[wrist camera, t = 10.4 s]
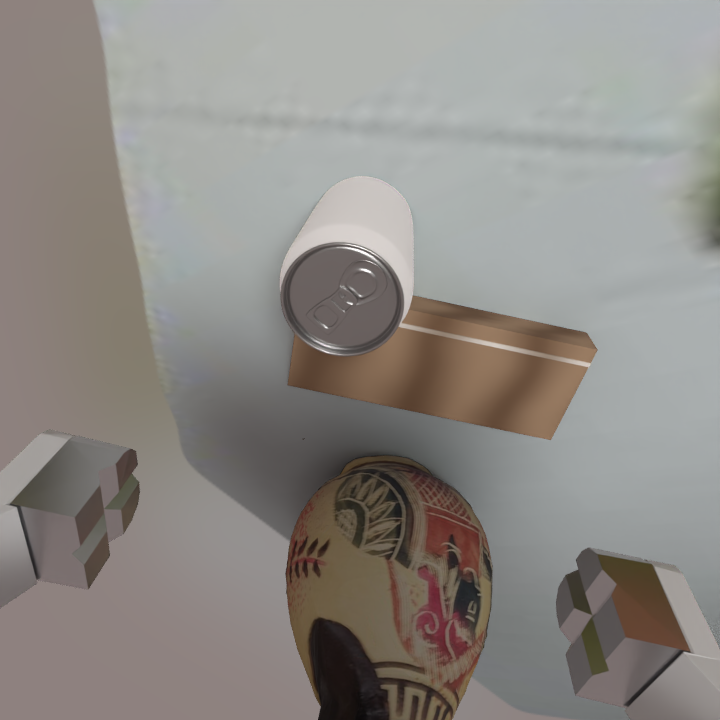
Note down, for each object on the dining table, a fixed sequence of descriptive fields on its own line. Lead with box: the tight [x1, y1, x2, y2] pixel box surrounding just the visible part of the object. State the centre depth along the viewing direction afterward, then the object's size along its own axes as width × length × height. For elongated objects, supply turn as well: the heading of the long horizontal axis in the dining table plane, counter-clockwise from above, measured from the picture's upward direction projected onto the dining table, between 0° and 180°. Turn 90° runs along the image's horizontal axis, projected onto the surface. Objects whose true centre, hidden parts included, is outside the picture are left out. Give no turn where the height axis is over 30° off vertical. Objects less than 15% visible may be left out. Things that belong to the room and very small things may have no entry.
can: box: [280, 176, 414, 357], centre depth 28 cm, size 6×6×12 cm
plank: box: [288, 296, 597, 440], centre depth 36 cm, size 20×8×2 cm, turn 79°
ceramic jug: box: [286, 438, 493, 720], centre depth 32 cm, size 17×15×30 cm
